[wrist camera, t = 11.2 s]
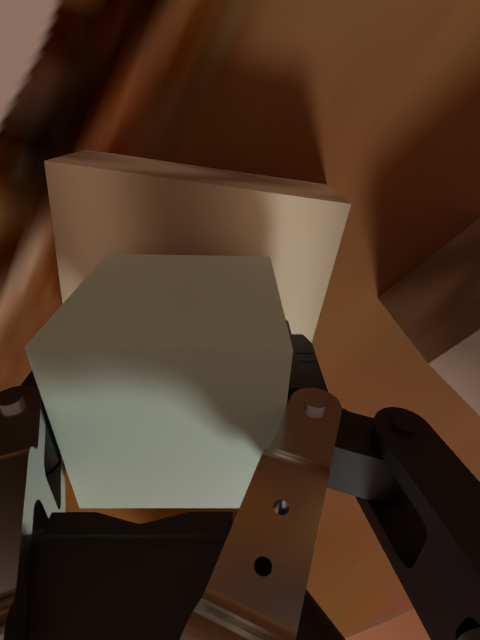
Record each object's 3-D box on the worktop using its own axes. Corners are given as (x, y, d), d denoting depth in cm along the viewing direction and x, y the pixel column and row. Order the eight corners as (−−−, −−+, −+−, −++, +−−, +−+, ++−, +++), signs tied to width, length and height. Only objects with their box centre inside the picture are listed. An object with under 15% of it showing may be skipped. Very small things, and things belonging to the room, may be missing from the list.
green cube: (269, 256, 12) (293, 349, 7) (261, 381, 15) (274, 508, 10) (107, 253, 12) (24, 347, 7) (129, 380, 15) (79, 508, 10)
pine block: (324, 182, 16) (351, 204, 12) (280, 365, 21) (290, 416, 17) (88, 148, 15) (43, 160, 11) (102, 347, 20) (74, 397, 16)
